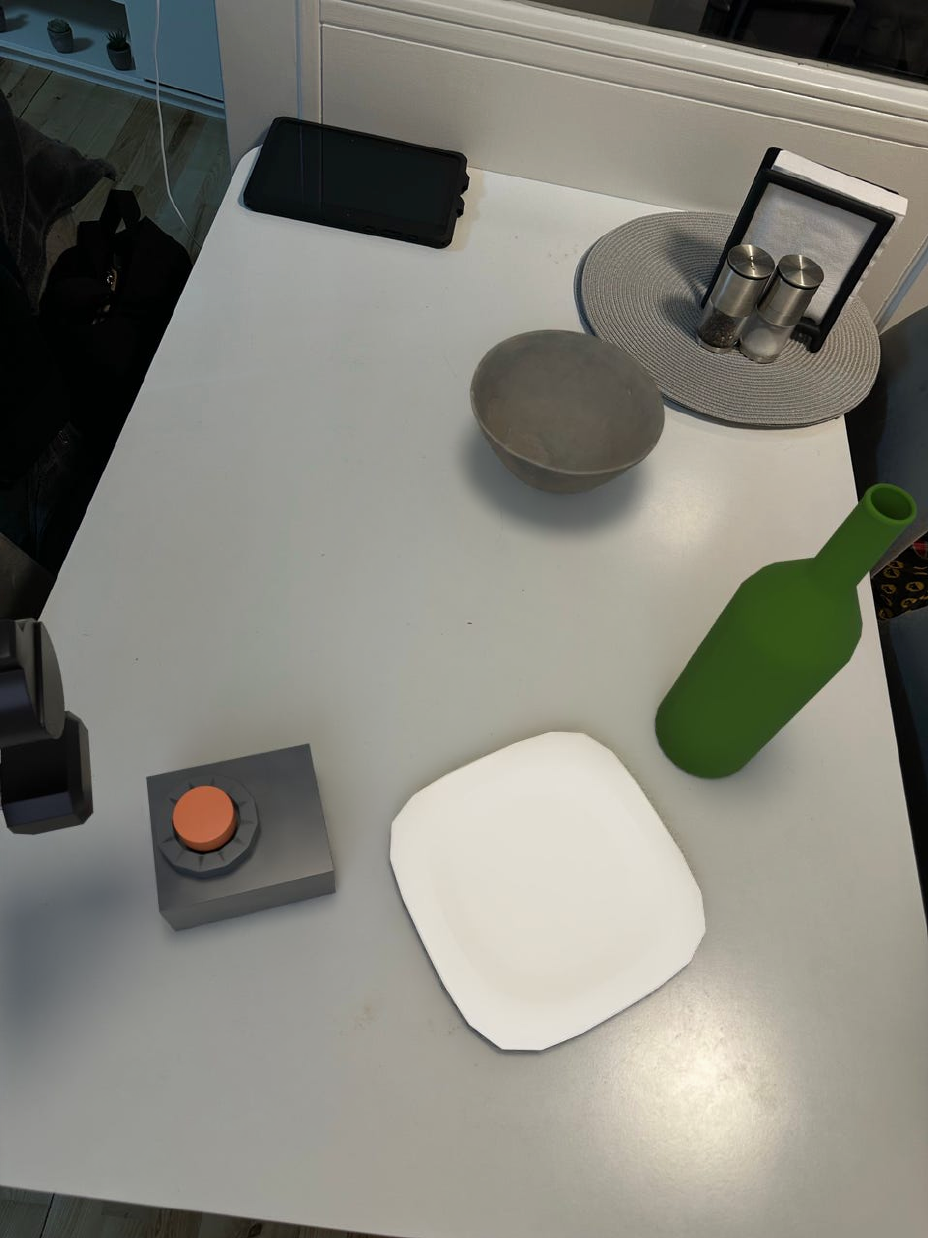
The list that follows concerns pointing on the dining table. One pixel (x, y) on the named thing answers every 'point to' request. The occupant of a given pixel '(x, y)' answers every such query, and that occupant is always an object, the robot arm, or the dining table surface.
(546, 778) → the plate
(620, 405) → the bowl
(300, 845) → the control block
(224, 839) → the button
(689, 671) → the wine bottle
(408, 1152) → the dining table surface
